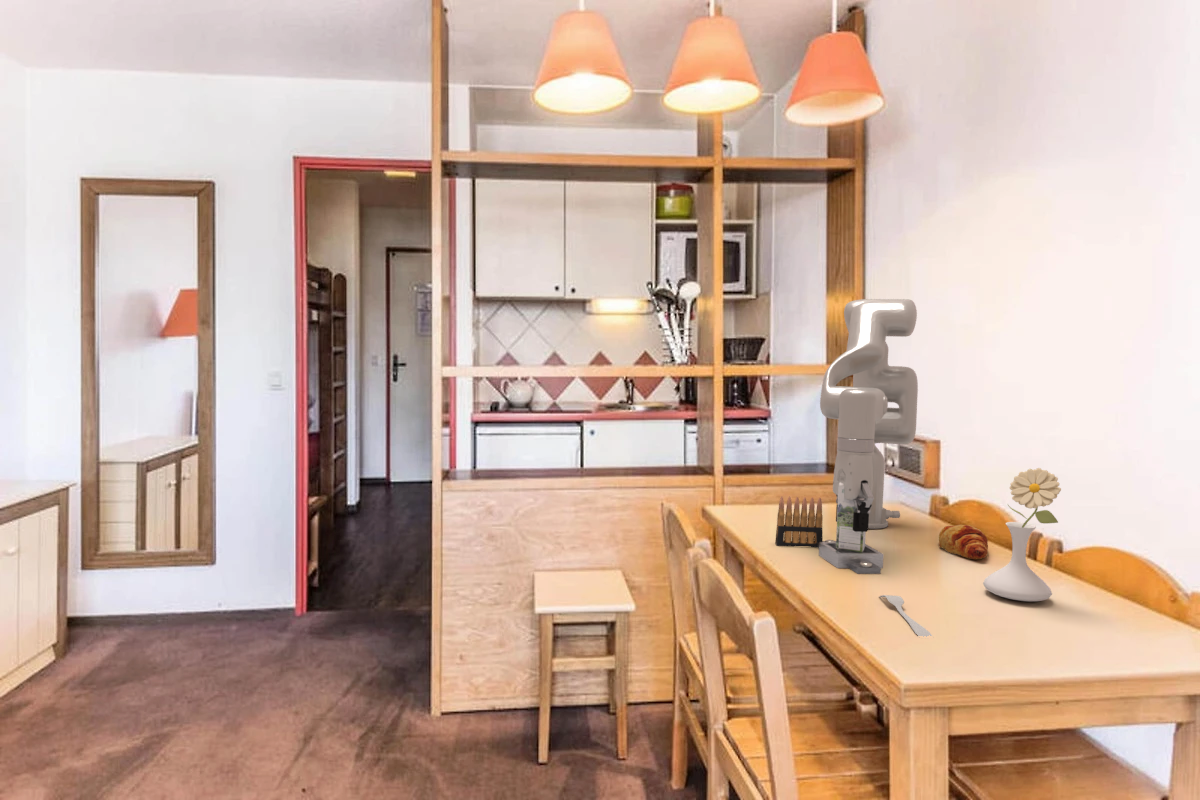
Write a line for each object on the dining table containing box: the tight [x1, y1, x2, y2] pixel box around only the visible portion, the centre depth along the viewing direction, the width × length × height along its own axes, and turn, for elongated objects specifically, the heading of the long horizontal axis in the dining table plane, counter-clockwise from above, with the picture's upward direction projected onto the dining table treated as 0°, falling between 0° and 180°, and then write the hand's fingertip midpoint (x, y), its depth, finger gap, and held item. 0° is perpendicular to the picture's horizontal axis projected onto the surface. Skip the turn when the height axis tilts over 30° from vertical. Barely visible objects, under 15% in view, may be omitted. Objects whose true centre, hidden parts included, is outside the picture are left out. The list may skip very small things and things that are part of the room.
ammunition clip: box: [774, 496, 824, 548], centre depth 175 cm, size 11×2×12 cm, turn 87°
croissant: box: [938, 524, 989, 560], centre depth 174 cm, size 21×10×8 cm, turn 176°
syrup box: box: [835, 482, 867, 552], centre depth 162 cm, size 6×6×14 cm
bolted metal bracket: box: [816, 539, 884, 575], centre depth 165 cm, size 10×22×3 cm, turn 6°
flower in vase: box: [982, 467, 1062, 602], centre depth 140 cm, size 13×11×25 cm
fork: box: [878, 594, 933, 637], centre depth 129 cm, size 3×21×3 cm, turn 178°
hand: (851, 526), depth 162 cm, fingers closed on syrup box, 7 cm apart
